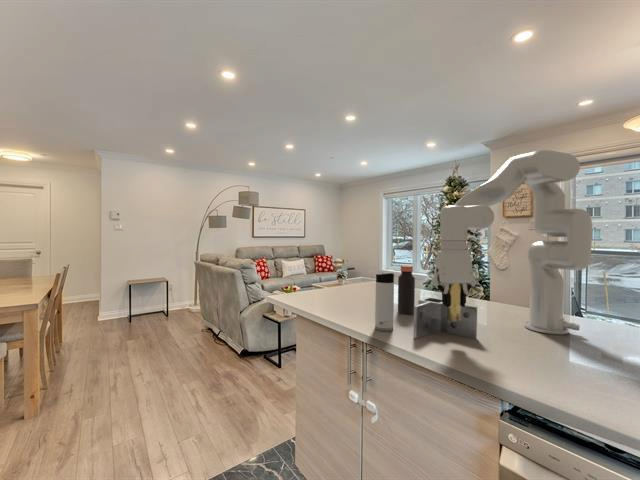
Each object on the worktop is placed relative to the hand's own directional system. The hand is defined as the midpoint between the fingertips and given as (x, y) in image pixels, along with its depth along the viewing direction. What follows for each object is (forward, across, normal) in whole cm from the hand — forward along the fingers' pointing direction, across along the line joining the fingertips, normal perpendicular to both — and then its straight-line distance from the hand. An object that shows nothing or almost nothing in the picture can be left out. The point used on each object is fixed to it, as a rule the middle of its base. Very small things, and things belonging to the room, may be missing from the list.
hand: (453, 305), depth 93 cm
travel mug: (+11, +19, -13) cm, 26 cm away
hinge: (+12, +1, -7) cm, 14 cm away
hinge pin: (+4, 0, 0) cm, 4 cm away
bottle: (+12, +5, -36) cm, 38 cm away
